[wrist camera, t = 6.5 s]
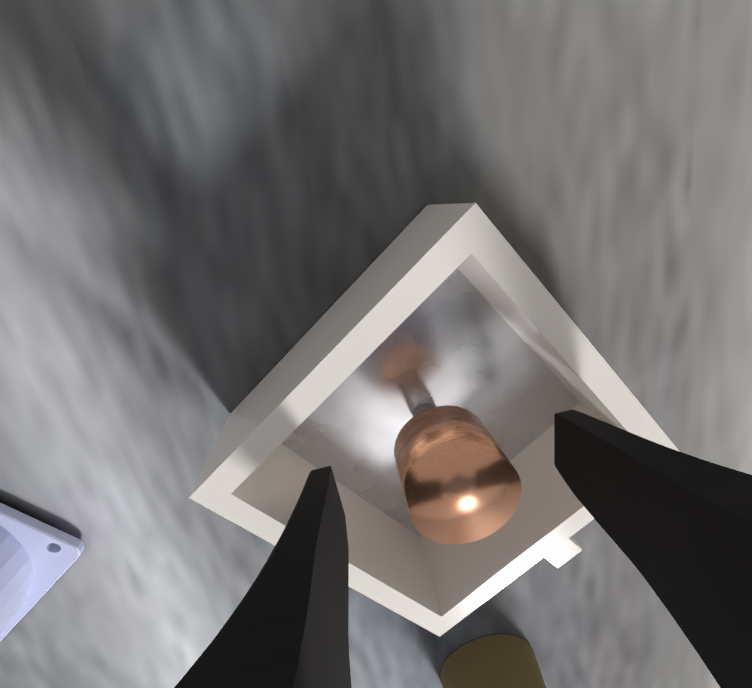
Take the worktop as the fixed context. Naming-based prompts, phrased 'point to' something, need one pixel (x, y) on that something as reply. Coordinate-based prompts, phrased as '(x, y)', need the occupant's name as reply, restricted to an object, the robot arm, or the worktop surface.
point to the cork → (492, 664)
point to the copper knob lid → (438, 418)
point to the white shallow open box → (347, 351)
